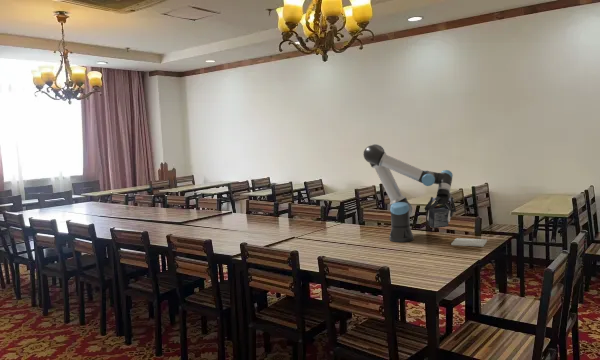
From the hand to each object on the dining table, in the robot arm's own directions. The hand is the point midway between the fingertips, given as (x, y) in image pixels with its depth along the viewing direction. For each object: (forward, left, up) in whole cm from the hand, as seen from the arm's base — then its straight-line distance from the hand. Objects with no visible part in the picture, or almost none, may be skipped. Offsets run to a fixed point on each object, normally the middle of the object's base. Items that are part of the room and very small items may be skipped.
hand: (438, 220), depth 288 cm
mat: (+17, +3, -14) cm, 22 cm away
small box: (-1, +2, -4) cm, 5 cm away
